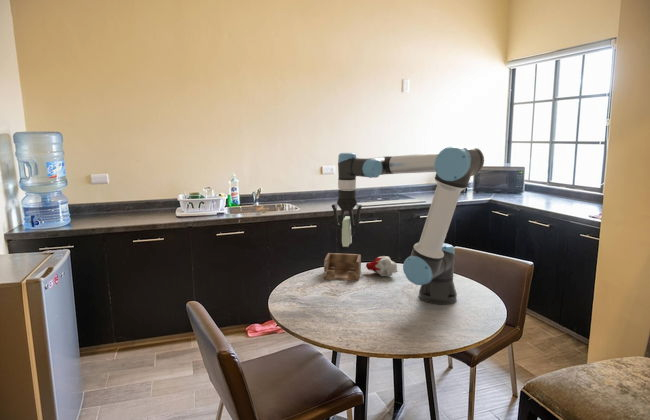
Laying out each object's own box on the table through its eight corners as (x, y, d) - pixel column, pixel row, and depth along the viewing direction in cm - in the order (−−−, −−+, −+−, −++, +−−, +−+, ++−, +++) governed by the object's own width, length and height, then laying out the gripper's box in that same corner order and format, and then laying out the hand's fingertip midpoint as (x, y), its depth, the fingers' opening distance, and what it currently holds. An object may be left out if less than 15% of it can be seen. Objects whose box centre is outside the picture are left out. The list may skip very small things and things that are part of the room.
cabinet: (360, 272, 216) (360, 254, 214) (358, 281, 203) (358, 262, 202) (328, 270, 218) (328, 252, 217) (323, 279, 206) (323, 261, 204)
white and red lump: (397, 277, 207) (365, 279, 209) (398, 269, 218) (367, 271, 220) (396, 259, 205) (363, 261, 208) (396, 252, 216) (365, 254, 219)
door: (345, 240, 200) (345, 216, 198) (350, 240, 200) (351, 216, 198) (342, 246, 189) (342, 221, 187) (348, 246, 189) (348, 221, 187)
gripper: (365, 188, 193) (365, 241, 197) (330, 187, 195) (330, 239, 199) (364, 190, 185) (364, 245, 190) (327, 190, 188) (327, 244, 192)
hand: (346, 242), depth 194 cm, fingers closed on door, 2 cm apart
